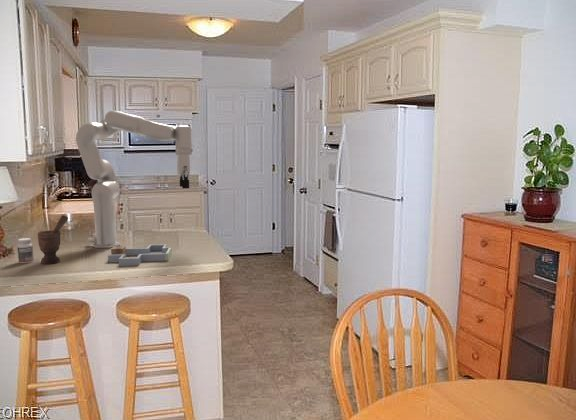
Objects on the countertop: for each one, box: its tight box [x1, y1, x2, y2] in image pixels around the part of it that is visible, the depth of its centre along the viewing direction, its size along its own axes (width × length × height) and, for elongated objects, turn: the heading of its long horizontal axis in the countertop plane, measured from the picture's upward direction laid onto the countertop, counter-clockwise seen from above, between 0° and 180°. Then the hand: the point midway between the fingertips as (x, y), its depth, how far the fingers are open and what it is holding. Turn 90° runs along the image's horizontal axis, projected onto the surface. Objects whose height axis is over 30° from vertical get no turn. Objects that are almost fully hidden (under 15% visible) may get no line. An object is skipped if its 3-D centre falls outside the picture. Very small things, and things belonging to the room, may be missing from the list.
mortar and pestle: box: [37, 214, 69, 265], centre depth 214 cm, size 12×9×20 cm
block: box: [110, 245, 127, 258], centre depth 221 cm, size 5×5×5 cm
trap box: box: [107, 244, 173, 267], centre depth 222 cm, size 25×27×3 cm
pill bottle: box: [17, 237, 35, 264], centre depth 215 cm, size 6×6×10 cm
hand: (184, 187), depth 244 cm, fingers open, 9 cm apart
